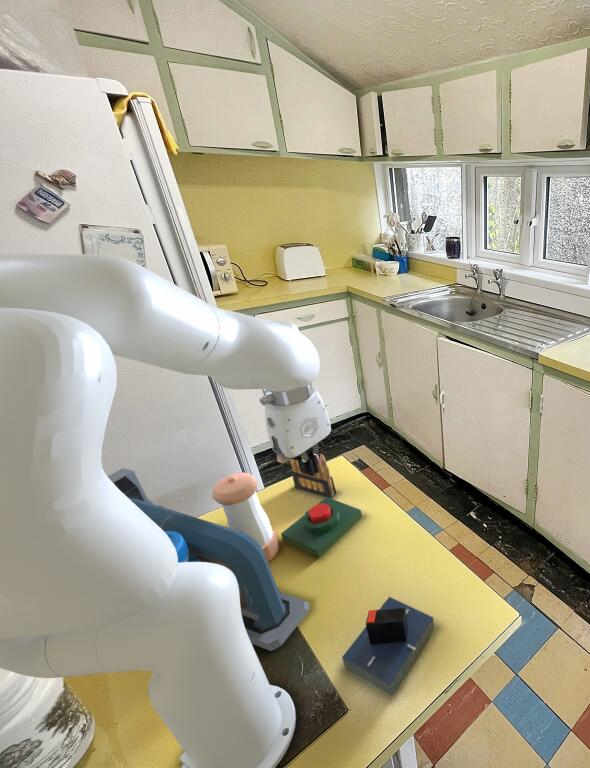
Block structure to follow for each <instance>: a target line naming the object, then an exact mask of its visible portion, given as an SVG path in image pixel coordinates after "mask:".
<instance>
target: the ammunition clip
mask: <svg viewBox="0 0 590 768" xmlns="http://www.w3.org/2000/svg"><path fill="white" fill-rule="evenodd" d="M316 457H317V461H318V467H319V472H318V473H315V475H314V476H310V475H307V474H303V473H302V472H301V471H300V468H299V464H298V461H297V460H295V459H292V460H291V461H289V462H290V466H291V469H292V470H291V476H292V481H293V485H294V488H295V489H297V490H300V491H304V492H307V493H311V494H313V495H317V496H320V497H324V498H326V497H328V498H331V499H333V498H334V497H335V496H337V490H336V486H335V483H334V479H333V478H334V477H333V476H332V475H331V471H330V468H329V466H328V464H327V461H326V458H325V456H324V455H323V453H320V454H317V455H316Z"/></svg>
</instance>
